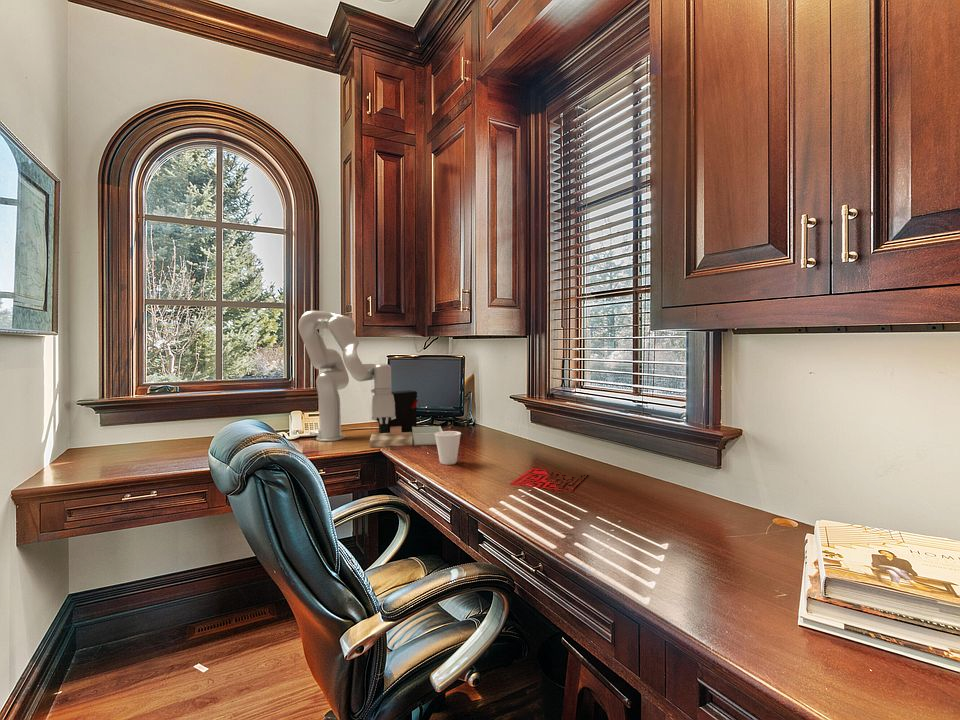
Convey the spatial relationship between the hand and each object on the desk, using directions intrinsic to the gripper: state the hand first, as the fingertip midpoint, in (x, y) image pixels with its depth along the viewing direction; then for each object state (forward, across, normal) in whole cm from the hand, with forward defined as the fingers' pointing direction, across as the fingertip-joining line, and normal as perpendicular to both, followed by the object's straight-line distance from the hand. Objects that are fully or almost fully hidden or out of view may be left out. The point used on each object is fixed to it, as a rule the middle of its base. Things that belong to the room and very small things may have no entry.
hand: (384, 432), depth 227 cm
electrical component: (+4, +6, +21) cm, 22 cm away
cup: (+5, +24, -45) cm, 52 cm away
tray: (+4, +19, -4) cm, 20 cm away
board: (+4, +3, -4) cm, 6 cm away
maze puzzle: (+5, +54, -74) cm, 92 cm away
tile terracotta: (+1, +5, 0) cm, 5 cm away
